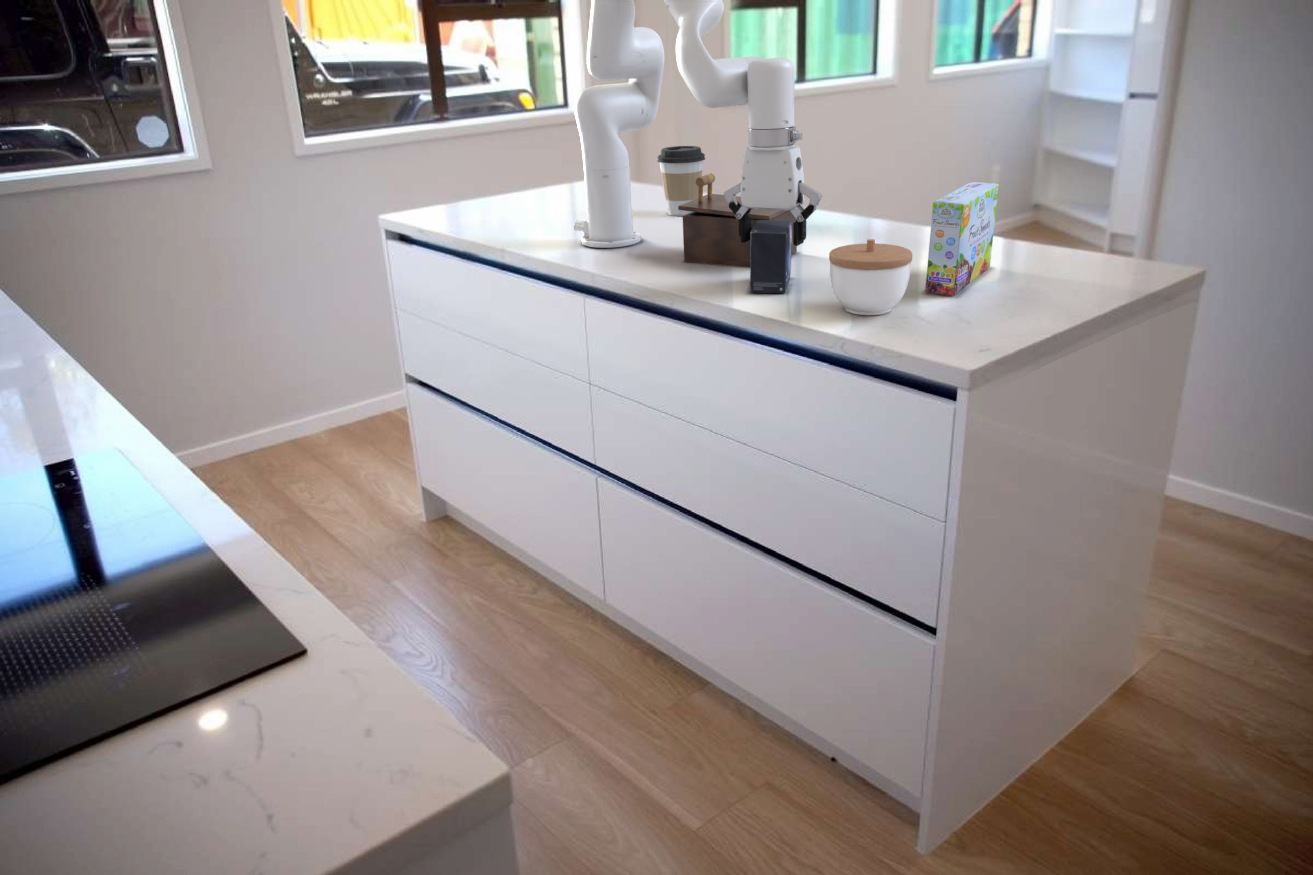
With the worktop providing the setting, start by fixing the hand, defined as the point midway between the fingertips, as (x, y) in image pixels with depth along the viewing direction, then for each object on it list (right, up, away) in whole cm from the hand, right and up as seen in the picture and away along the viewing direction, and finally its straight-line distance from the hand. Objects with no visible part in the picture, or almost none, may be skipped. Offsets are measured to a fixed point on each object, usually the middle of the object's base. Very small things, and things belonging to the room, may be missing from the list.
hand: (772, 242), depth 170 cm
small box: (0, -7, +3) cm, 8 cm away
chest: (-3, +2, +24) cm, 24 cm away
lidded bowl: (+14, -13, -12) cm, 23 cm away
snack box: (+32, -6, +1) cm, 33 cm away
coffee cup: (-13, +20, +68) cm, 72 cm away
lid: (-4, +11, +20) cm, 23 cm away
